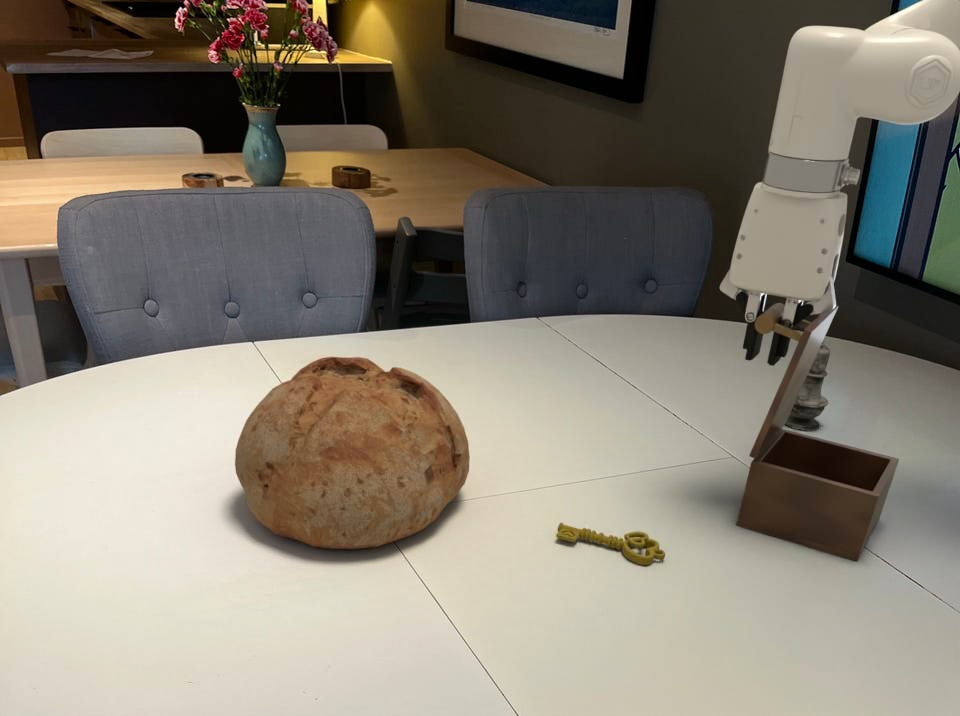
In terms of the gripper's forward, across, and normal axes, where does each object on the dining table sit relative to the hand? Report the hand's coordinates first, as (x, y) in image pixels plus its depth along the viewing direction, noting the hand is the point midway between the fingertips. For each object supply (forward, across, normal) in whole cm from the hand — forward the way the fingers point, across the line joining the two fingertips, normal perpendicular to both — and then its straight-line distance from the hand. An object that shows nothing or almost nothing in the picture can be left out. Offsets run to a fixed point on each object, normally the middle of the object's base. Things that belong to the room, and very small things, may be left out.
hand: (763, 358), depth 107 cm
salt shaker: (+18, 0, -30) cm, 34 cm away
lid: (+2, -4, 0) cm, 5 cm away
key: (+17, +7, +19) cm, 27 cm away
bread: (+16, +35, +27) cm, 48 cm away
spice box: (+17, -9, 0) cm, 19 cm away
